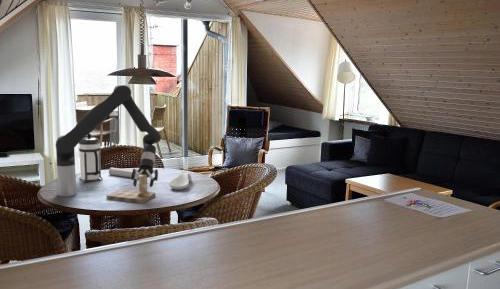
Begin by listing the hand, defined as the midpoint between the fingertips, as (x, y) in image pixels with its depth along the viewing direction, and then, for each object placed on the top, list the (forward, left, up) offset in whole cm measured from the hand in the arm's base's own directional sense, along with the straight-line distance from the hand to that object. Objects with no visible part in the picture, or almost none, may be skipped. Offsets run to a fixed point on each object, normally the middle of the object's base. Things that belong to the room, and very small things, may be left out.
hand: (142, 186), depth 227 cm
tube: (-35, +41, -8) cm, 54 cm away
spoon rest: (+9, +32, -8) cm, 34 cm away
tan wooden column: (-1, +2, -5) cm, 6 cm away
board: (-7, 0, -7) cm, 10 cm away
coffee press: (-49, +24, -7) cm, 56 cm away
